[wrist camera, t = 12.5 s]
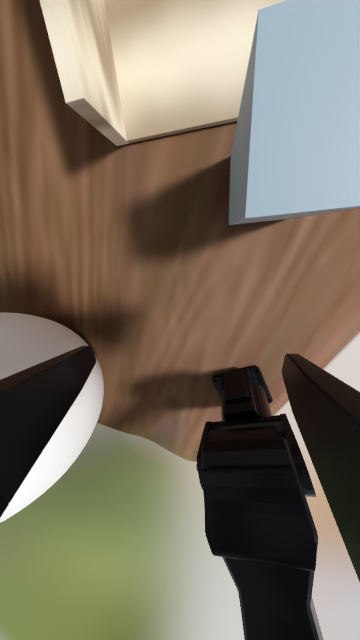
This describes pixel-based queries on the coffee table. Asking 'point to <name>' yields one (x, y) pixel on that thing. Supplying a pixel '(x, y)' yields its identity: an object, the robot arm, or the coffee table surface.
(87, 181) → the coffee table surface
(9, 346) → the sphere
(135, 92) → the birch crate
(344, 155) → the pale blue block
